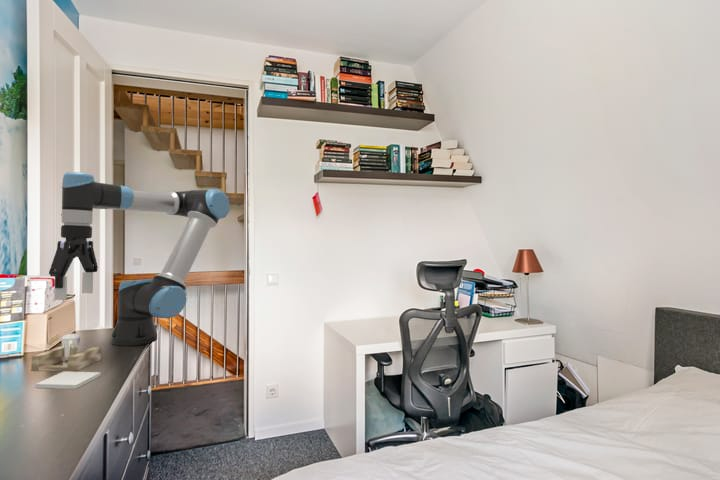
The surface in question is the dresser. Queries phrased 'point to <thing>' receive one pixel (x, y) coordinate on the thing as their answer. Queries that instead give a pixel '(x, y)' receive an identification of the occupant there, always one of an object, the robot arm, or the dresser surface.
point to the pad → (68, 380)
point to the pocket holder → (54, 356)
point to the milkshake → (69, 346)
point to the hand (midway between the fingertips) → (74, 296)
